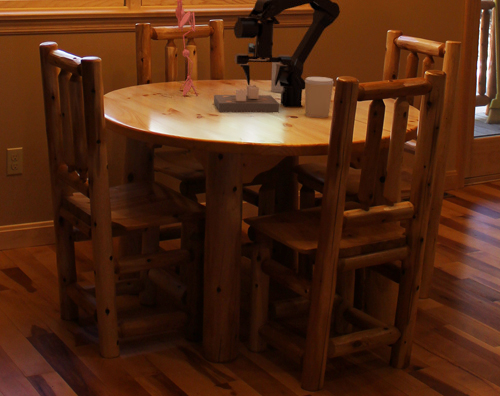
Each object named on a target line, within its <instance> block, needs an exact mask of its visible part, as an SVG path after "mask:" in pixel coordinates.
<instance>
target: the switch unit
mask: <svg viewBox="0 0 500 396" xmlns="http://www.w3.org/2000/svg"><path fill="white" fill-rule="evenodd" d="M213 105H214V106H215V108H216V110H217V111H218V113H273V112H278V113H280V102H278V100H276V99H275V98H274V97H273V96H272V95H271V94H269V95H268V94H267V95H265V94H262V95H261V94H259V95H258V99H249V97H248V96H247V95H246V101H236V94H213Z"/></svg>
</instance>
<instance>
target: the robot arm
mask: <svg viewBox="0 0 500 396" xmlns="http://www.w3.org/2000/svg"><path fill="white" fill-rule="evenodd" d="M305 5H309V7H310V8H311V9H312V10H313V13H312V22H311V24H310V26H309V27H308V28H307V30H306V32H305V34H304V35H303V37H302V39H301V41H300V42H299V44H298V46H297V47H296V49H295V51H294V52H293V54H292V55H290V54H278V55H277V56H273V46H274V30H275V29H274V27H275V25H280V24H281V22H280V21H279V20H278V19H277V17H276V16H278V15H280V14H281V13H282V12H284V11H286V10H290V9H293V8H297V7H300V6H301V7H302V6H305ZM340 13H341V9H340V5H339V4H338V3H336V2H333V1H332V0H256V1H255V4H254V6H253V9H252V10H251V11H250V13H249V14H248V15H247V17H246V16H238V17H237V20H236V22H235V23H234V26H233V34H234V36H235V37H236V39H254V38H255V43H248V44H247V53H235V55H234V63H235V64H237V65H238V66H239V67H241V68H242V69H243V72H244V75H245V78H246V82H247V85H251V84H250V83H251V78H250V77H251V76H250V75H251V74H250V72H251V71H250V68H251V66H250V64H249V63H272V62H278V64H276V75H275V86H276V85H277V83H278V81H279V82H280V86H283V91H281V93H280V104H281V105H282V106H283V107H288V108H303V105H302V98H303V91H305V79H304V78H303V77H302V76H303V74H304V65H305V63H306V61H307V59H308V57H309V56H310V54H311V52H312V51H313V49H314V48H315V46H316V45H317V42H318V41H319V39H320V38H321V36H322V34H323V33H324V31H325V29H327V28H328V27H329V26H331V25H332V24H333V23H334V22H335V21H336V20H337V19H338V17H339V16H340ZM249 54H251V55H252V56H250V55H249Z"/></svg>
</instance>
